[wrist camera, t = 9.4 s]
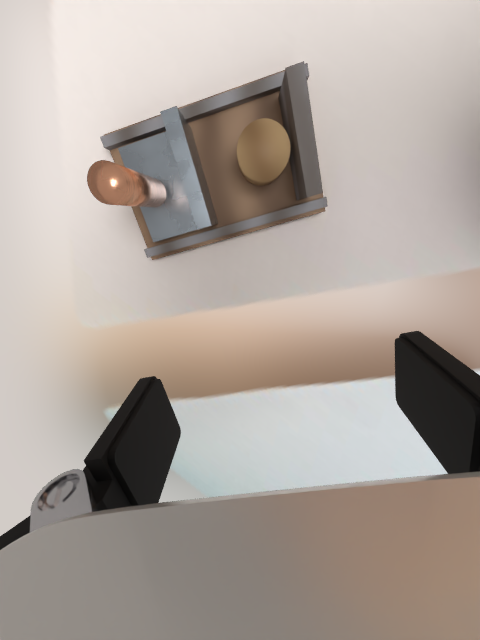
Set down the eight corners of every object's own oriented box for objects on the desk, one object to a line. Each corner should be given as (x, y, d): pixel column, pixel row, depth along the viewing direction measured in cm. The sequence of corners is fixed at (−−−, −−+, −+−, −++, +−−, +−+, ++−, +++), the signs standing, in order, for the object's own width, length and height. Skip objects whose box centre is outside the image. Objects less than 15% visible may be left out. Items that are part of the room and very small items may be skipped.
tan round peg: (278, 127, 28) (284, 110, 24) (288, 178, 30) (295, 171, 25) (233, 142, 29) (230, 128, 24) (245, 191, 31) (244, 187, 26)
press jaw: (190, 127, 28) (155, 74, 18) (218, 223, 32) (202, 228, 21) (122, 150, 29) (50, 114, 19) (156, 241, 33) (111, 254, 22)
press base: (301, 70, 28) (318, 22, 21) (321, 211, 32) (341, 210, 26) (110, 138, 30) (69, 116, 23) (156, 258, 35) (133, 269, 28)
